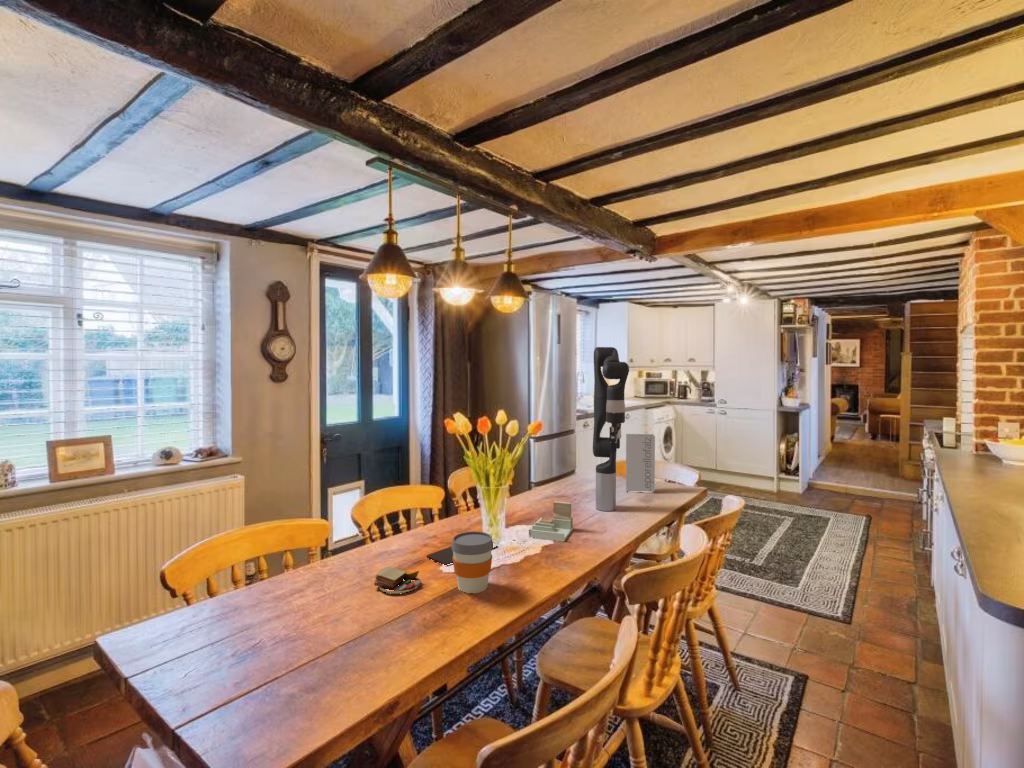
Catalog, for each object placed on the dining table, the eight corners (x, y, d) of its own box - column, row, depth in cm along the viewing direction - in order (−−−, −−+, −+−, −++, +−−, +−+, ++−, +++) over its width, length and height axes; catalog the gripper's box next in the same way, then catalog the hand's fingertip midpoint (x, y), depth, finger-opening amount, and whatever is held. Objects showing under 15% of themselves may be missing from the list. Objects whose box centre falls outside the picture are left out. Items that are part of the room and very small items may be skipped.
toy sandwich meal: (403, 600, 143) (403, 584, 143) (367, 590, 149) (367, 575, 149) (428, 582, 154) (428, 567, 154) (394, 574, 160) (394, 560, 160)
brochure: (626, 492, 259) (626, 435, 257) (625, 489, 264) (626, 433, 263) (654, 493, 256) (654, 436, 255) (653, 490, 262) (653, 434, 260)
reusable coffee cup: (444, 592, 147) (443, 542, 147) (463, 575, 159) (463, 529, 158) (482, 599, 143) (482, 548, 142) (499, 581, 154) (499, 534, 154)
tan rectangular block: (554, 525, 204) (554, 501, 204) (571, 527, 202) (571, 502, 201) (553, 526, 203) (553, 502, 202) (570, 528, 200) (570, 504, 200)
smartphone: (423, 555, 174) (476, 536, 192) (423, 559, 174) (477, 540, 192) (445, 564, 165) (499, 544, 183) (445, 569, 165) (499, 548, 183)
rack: (540, 524, 208) (540, 514, 208) (573, 528, 203) (573, 517, 203) (528, 537, 193) (528, 526, 193) (563, 541, 188) (563, 530, 188)
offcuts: (541, 526, 202) (541, 519, 202) (554, 528, 201) (554, 520, 200) (537, 530, 198) (537, 522, 198) (550, 532, 196) (550, 524, 196)
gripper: (609, 408, 210) (609, 446, 211) (603, 412, 197) (603, 452, 198) (627, 409, 207) (627, 447, 208) (622, 413, 194) (622, 454, 195)
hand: (615, 450), depth 203 cm, fingers open, 8 cm apart
